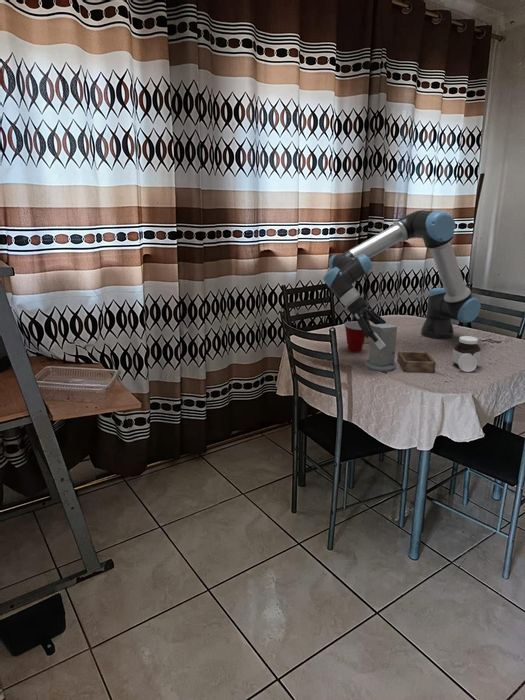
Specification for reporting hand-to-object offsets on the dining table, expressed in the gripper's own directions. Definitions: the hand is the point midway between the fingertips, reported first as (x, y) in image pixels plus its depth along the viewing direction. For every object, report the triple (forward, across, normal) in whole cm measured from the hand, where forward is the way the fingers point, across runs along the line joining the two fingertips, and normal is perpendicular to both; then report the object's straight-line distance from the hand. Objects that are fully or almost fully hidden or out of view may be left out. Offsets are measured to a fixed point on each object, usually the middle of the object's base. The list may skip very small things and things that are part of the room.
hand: (387, 343), depth 194 cm
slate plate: (+6, 0, -9) cm, 10 cm away
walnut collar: (+14, -7, 0) cm, 16 cm away
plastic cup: (-5, -15, -20) cm, 25 cm away
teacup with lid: (-6, -31, -20) cm, 38 cm away
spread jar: (+27, -15, +13) cm, 34 cm away
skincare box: (+5, 0, -8) cm, 9 cm away
